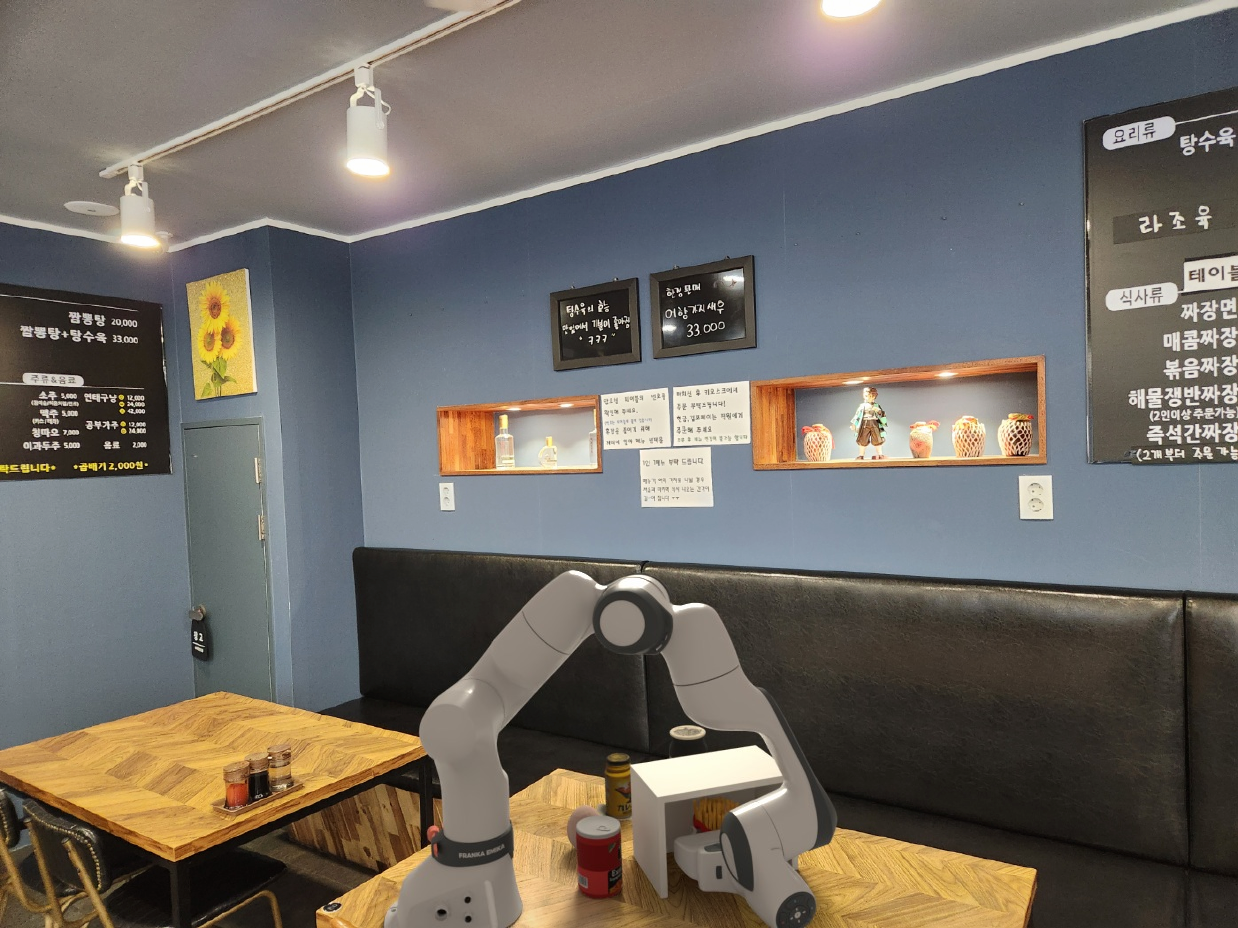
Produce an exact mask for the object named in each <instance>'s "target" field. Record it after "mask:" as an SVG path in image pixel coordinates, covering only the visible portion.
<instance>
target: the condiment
mask: <svg viewBox="0 0 1238 928" xmlns="http://www.w3.org/2000/svg"><path fill="white" fill-rule="evenodd" d="M605 762H606V763H605V770H604V790H605V792H604V793H605V795H604V796H605V803H597V807H596V811H597V812H598V813H599V815H600V816H609V817H612V818H615V819H616V820H618V821H632V801H631V774H630V765H632V764H631V757H630V756H629V755H628V754H627V753H622V752H616V753H615V752H614V753H610V754H609V755H607V756H606V759H605Z"/></svg>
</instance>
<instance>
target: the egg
mask: <svg viewBox="0 0 1238 928" xmlns="http://www.w3.org/2000/svg"><path fill="white" fill-rule="evenodd" d="M591 816H600V815H599V813H598V812H597V809H596V808H595V807H593V806H591V805H589V804H583V805H582V804H581V805H580V806H578V807H576V808H575V809H574V810H573V811H572V813H571V814H570V816H569V818H568V820H567V824H566V836H567V839H568V841H569V843H570V845H571V846H572V847H574V848H575V849H576V850H577V848H576V825H577V823H578V822H579V821H580V820H582V819H584V818H587V817H591Z"/></svg>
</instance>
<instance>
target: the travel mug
mask: <svg viewBox="0 0 1238 928" xmlns="http://www.w3.org/2000/svg"><path fill="white" fill-rule="evenodd" d="M669 734H670V736H671V743H670V745H669V747H668V749H669V750H668V751H669V759H672V758H678V757H685V756H691V755H697V754H704V753H709V752H708V745H707V743H706V741H705V735H706V730H705V729H704V727H700V726H696V725H680V726H676V727H674V728H671V730H669Z"/></svg>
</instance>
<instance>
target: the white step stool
mask: <svg viewBox="0 0 1238 928" xmlns="http://www.w3.org/2000/svg"><path fill="white" fill-rule="evenodd" d="M630 774H631V801H632V820H631V825H632V850H633V851H632V852H633V855H632V856H633V858H634V859H635V861H636V863H638V865H639V867H640V868H641V870H642V871H643V873H644V874H645V876H646V878H647V880H649V881H650V884H651V886H652V887H653V888H654V890H655V891H656V893H657V894H658V896H659V897H660V899H665V898H668V897H669V895H668V894H669V893H668V892H669V891H668V890H669V889H668V869H667V868H668V864H667V854H668V853H674V841H675V839H676V838H677V837H682V836H688V835H691V834H690V827H691V826H694V825H693V816H694V814H695V813H694V806H693V801H696V802H697V806H699V799H702V798H706V801H707V798H711V799H716V796H717V797H719V798H721V797H724V798H725V799H724V800H725V812H726V800H727V799H730V802H731V801H734V805H735V802H737V803H739V804H738V806H741V805H743V804H745V803H747V802H750V801H752V800H755V799H758V798H760V797H762V796H764V795H766V794H769V793H771V792H773V791H775V790H777V789H779V788H780V787H781V786H782V784H783V781H784V779H783V776H782V774H781V772H780V770H779V768H778V766H777V764H776V762H775V760H774V758H773V756H772V755H771V754H770V755H769V754H768V753H767V752H766V751H764V750H763V749H762V748H760V747H758V746H757V745H756V744H755V745H750V746H749V745H748V746H743V747H738V748H737V747H736V748H730V749H725V750H717V751H710V752H708V753H704V754H697V755H691V756H685V757H678V758H672V759H670V758H667V759H660V760H653V761H649V762H642V763H635V764H631V765H630ZM786 862H787V863H788V864H789V865H790V866H791V867H792V868H793V869H794V870H795V871H796V870H797V871H798V870H799V855H798V856H796V857H794V858H792V859H790V860H788V861H786Z"/></svg>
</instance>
